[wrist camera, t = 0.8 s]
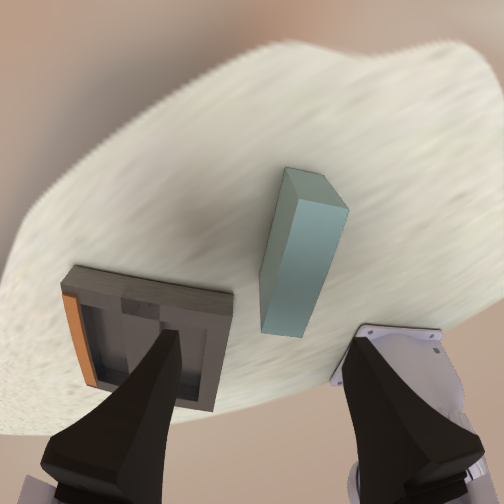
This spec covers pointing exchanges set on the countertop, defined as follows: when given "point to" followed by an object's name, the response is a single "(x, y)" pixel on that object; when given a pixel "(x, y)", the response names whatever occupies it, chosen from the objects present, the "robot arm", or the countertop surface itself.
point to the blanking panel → (299, 251)
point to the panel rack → (146, 330)
